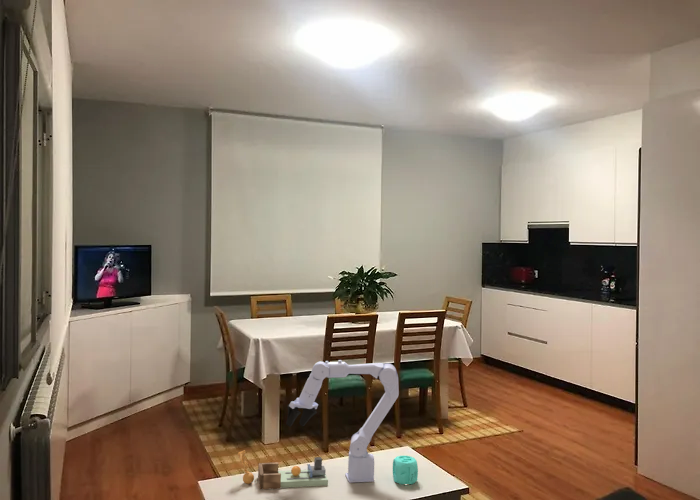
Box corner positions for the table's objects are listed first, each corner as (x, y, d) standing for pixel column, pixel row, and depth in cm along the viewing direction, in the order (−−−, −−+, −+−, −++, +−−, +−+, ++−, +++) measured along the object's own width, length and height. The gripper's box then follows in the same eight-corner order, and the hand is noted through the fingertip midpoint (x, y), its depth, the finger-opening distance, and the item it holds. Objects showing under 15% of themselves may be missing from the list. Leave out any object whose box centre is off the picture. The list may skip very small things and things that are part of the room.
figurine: (253, 488, 205) (254, 454, 205) (235, 488, 205) (236, 454, 205) (254, 478, 214) (255, 446, 214) (237, 479, 213) (238, 446, 213)
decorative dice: (395, 485, 213) (396, 463, 213) (392, 476, 221) (392, 455, 221) (417, 485, 214) (418, 463, 213) (413, 476, 221) (413, 455, 221)
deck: (323, 474, 220) (323, 468, 220) (327, 485, 210) (328, 479, 210) (277, 476, 217) (278, 470, 217) (280, 487, 207) (280, 481, 207)
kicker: (322, 469, 218) (323, 454, 218) (326, 476, 212) (326, 461, 212) (307, 470, 217) (307, 455, 217) (310, 477, 210) (310, 462, 210)
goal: (277, 475, 217) (278, 462, 217) (280, 488, 206) (280, 474, 206) (258, 476, 216) (258, 463, 216) (259, 489, 205) (260, 475, 205)
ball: (300, 473, 215) (300, 464, 215) (301, 477, 211) (301, 467, 211) (290, 474, 214) (290, 464, 214) (291, 477, 211) (291, 468, 211)
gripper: (314, 387, 227) (299, 419, 227) (290, 386, 215) (275, 419, 215) (327, 396, 222) (312, 429, 223) (303, 395, 211) (287, 429, 211)
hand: (294, 425), depth 219 cm, fingers open, 7 cm apart
